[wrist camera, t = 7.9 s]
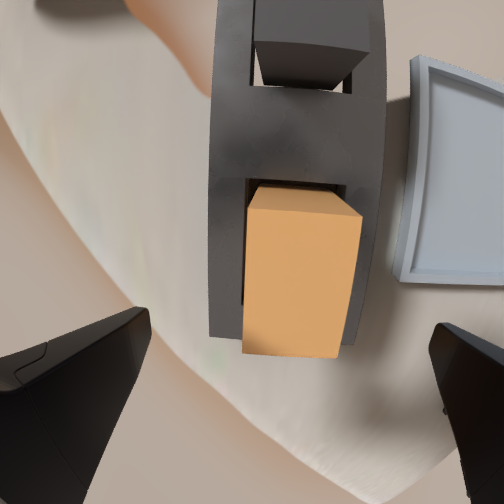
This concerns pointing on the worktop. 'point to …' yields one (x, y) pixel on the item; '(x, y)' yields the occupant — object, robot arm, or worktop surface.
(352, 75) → the grey slotted frame
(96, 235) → the worktop surface
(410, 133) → the tray
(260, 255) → the orange block
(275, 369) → the worktop surface
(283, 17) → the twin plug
